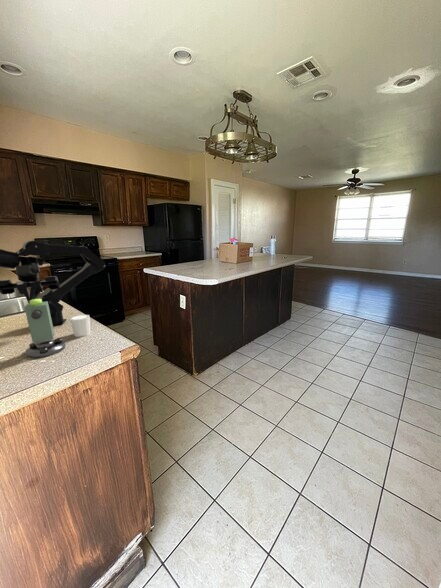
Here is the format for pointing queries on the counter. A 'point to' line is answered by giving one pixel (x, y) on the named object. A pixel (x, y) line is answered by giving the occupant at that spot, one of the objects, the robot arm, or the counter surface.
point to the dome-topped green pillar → (39, 321)
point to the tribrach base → (45, 348)
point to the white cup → (80, 325)
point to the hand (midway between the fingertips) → (30, 303)
